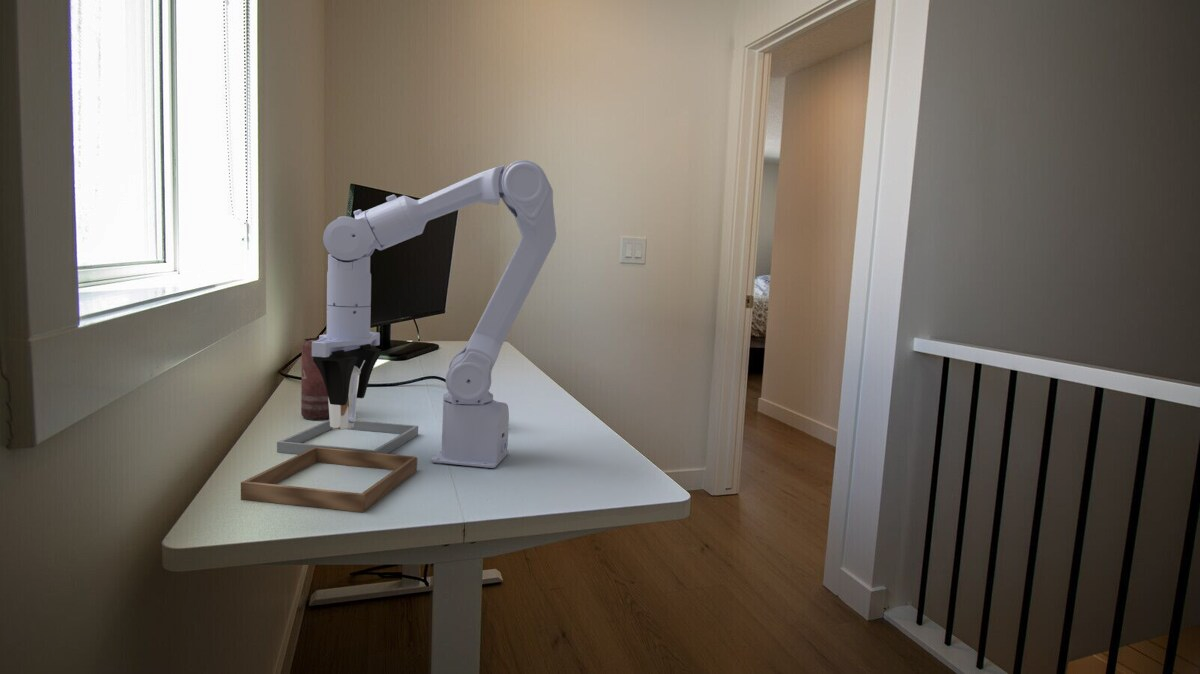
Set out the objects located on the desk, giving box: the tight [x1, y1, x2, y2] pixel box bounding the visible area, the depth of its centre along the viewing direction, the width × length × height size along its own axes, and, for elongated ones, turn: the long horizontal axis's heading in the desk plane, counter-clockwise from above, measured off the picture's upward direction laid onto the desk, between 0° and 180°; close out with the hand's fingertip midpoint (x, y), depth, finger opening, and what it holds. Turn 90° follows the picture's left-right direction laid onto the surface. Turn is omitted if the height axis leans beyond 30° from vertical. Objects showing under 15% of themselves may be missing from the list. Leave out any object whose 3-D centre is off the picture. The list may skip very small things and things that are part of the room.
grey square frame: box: [276, 419, 419, 455], centre depth 96 cm, size 15×15×2 cm
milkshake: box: [328, 360, 365, 431], centre depth 88 cm, size 4×5×10 cm
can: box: [300, 337, 330, 421], centre depth 109 cm, size 6×6×14 cm
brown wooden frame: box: [240, 447, 418, 513], centre depth 78 cm, size 15×15×2 cm
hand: (347, 400), depth 88 cm, fingers closed on milkshake, 4 cm apart
